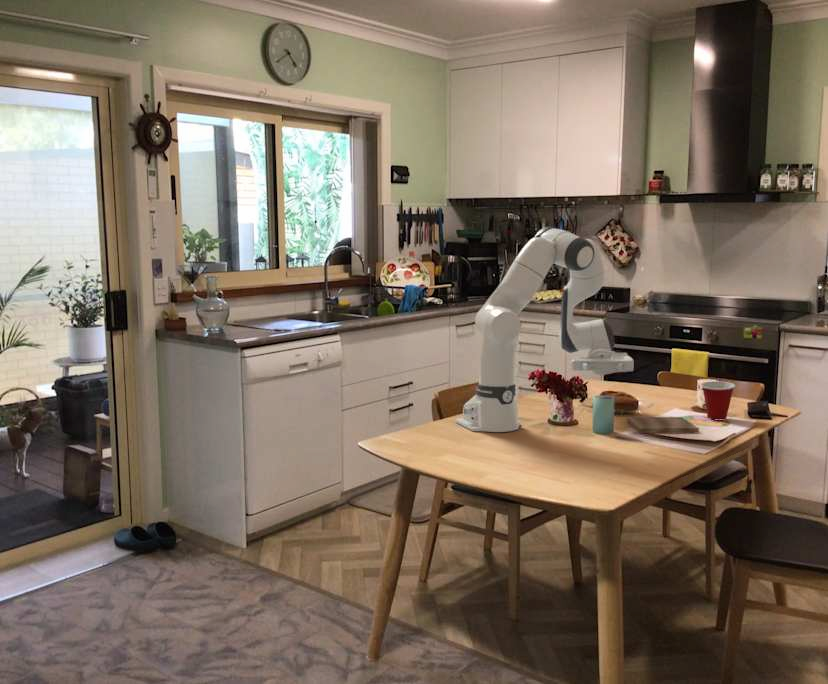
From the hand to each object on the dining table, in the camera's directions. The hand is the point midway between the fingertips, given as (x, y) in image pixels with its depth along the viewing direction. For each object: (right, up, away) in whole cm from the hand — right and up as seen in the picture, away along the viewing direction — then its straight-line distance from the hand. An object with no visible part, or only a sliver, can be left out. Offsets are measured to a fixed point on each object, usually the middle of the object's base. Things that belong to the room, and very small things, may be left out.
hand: (603, 368), depth 261 cm
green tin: (-2, -20, -10) cm, 22 cm away
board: (+18, -19, -3) cm, 26 cm away
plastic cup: (+40, -18, +9) cm, 44 cm away
